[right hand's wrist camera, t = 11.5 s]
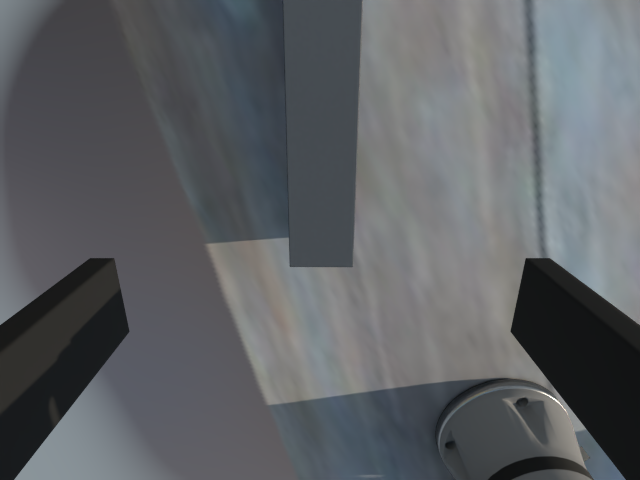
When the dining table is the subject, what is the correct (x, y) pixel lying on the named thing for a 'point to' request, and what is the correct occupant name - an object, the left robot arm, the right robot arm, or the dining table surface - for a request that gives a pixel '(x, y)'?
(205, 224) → the dining table surface
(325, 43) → the beam
